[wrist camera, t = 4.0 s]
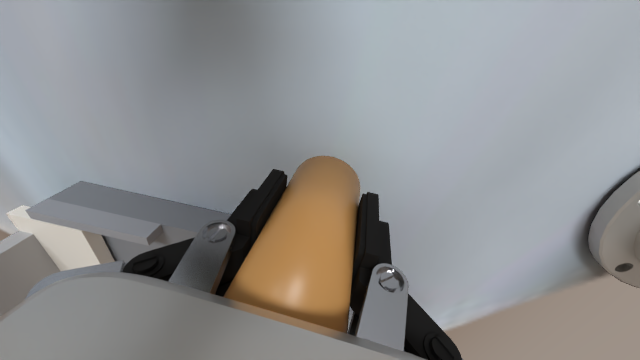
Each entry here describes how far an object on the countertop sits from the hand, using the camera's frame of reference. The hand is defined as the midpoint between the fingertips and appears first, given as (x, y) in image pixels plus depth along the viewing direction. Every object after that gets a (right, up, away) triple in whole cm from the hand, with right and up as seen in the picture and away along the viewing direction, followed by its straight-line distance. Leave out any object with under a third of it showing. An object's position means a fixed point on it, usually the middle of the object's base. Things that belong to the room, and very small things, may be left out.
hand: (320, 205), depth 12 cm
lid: (-21, -5, +8) cm, 23 cm away
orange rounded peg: (0, +1, +2) cm, 2 cm away
